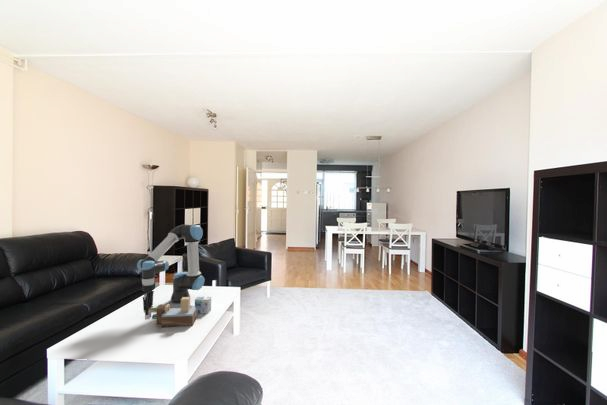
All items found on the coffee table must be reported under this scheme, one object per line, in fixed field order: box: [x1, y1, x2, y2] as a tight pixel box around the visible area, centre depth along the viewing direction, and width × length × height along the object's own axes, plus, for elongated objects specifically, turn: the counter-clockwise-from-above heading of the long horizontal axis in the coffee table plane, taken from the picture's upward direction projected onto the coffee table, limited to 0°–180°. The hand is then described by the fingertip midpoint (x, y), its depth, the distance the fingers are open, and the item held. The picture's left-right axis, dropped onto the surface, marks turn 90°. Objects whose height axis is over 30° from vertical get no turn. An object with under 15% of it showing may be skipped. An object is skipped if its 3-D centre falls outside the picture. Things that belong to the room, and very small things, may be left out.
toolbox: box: [156, 303, 197, 328], centre depth 200 cm, size 12×24×12 cm, turn 98°
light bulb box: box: [194, 295, 212, 315], centre depth 221 cm, size 11×7×11 cm, turn 88°
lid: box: [162, 296, 196, 317], centre depth 201 cm, size 12×19×10 cm, turn 98°
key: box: [143, 307, 165, 314], centre depth 199 cm, size 2×14×2 cm, turn 98°
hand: (148, 318), depth 198 cm, fingers closed on key, 2 cm apart
